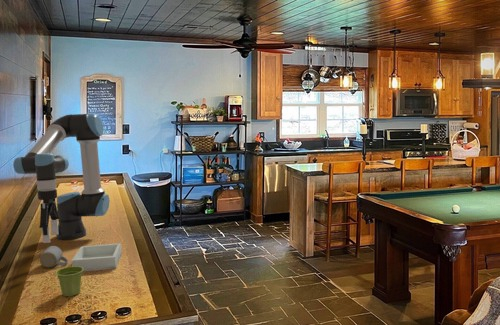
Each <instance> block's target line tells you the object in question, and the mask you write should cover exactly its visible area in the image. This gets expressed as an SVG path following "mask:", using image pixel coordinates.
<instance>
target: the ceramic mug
mask: <svg viewBox="0 0 500 325" xmlns="http://www.w3.org/2000/svg"><path fill="white" fill-rule="evenodd" d="M62 261H63V262H62ZM68 262H69V261H68V258H66V257H64V256H63V251H62V249H61V248H60V247H58V246H56V245H51V246H48V247H47V248H46V249H45V250H44V251H43V252H42V254H41V255H40V257H39V263H40V265H41V266H42V267H44V268H47V269H49V268H53V267H54V266H56V265H57V266H62V267H64V266H67V264H68Z"/></svg>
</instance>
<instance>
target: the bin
mask: <svg viewBox="0 0 500 325" xmlns="http://www.w3.org/2000/svg"><path fill="white" fill-rule="evenodd" d="M121 256H122V243H111V244H110V243H109V244H108V243H107V244H97V245H84V246H83V245H82V246H80V247H79V249H78V250H77V252H76V254H75V255H74V257H73V258H72V259H71V266H79V267H82V268H83V271H82V273H83V272H93V271H95V272H96V271H103V270H106V271H107V270H116V269H117V267H118V265H119V262H120V259H121Z"/></svg>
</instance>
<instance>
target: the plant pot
mask: <svg viewBox="0 0 500 325" xmlns="http://www.w3.org/2000/svg"><path fill="white" fill-rule="evenodd" d="M82 271H83V268H82V267H79V266H72V265H71V266H67V267H66V266H65V267H62V268H60V269H58V270H56V271H55V275H56V276H57V278H58V281H59V286H60V290H61V295H62V296H63V297H66V296H68V297H73V296H75V295H79V294H80V293H81V289H82V288H81V286H82V285H81V284H82V275H83V272H84V271H83V272H82Z"/></svg>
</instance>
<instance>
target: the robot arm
mask: <svg viewBox="0 0 500 325" xmlns="http://www.w3.org/2000/svg"><path fill="white" fill-rule="evenodd" d="M103 135H104V123H103V121H102V119H101V118H100V115H98V114H96V113H79V114H73V113H72V114H71V113H70V114H65V115H63V116H60V117H58V118H57V119H56V120H54V121H53V122H52V123H51V124H50V125H48V127H47V129H46V132H45V133H44V134H43V135H42V136H41V138H40V139H39V140H38V141H37V142H36V143H35V145H33V146H32V148H31V149H29V151H28V152H27V153H26V154H25V156H20V157H16V158H15V159H14V161H13V165H12V166H13V169H14V173H16V174H18V175H19V174H20V175H32V174H35V175H36V176H35V177H36V182H35V185H36V186H37V187H36V188H37V190H38V191H37V198H38V200H40V201H42V203H40V216H39V217H40V218H39V220H40V221H39V227H38V228H39V229H41V234H42V235H41V237H42V243H43V244H46V243H51V236H54V235H55V237H56V239H57V240H75V239H79V238H82V237H85V236H86V235H87V229H86V227H85V224H84V222H83V219H82V218H83V217H95V218H98V217H103V216H105V215H106V214H107V212H108V211H109V207H110V202H111V201H110V196H109V194H108V193H105V189H104V188H102V179H101V170H100V159H99V158H100V157H99V147H98V142H99V141H101V137H102V136H103ZM67 138H76V139H75V140H76V142H77V143H78V144H79V147H80V158H81V169H82V179H83V190H82V191H81V193H80V191H73V192H67V193H63V194H60V195H58V191H57V179H56V174H59V173H63V172H64V171H66V170H67V169H68V168H69V164H70V163H69V159H68V157H66V156H65V155H60V154H59V155H54V154H53V153H52V151H53V150H54V149H55V148H56V147H57V145H59V143H60V142H62V141H64V140H65V139H67ZM49 223H50V226H49ZM50 229H51V232H50ZM50 233H51V235H50Z"/></svg>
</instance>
